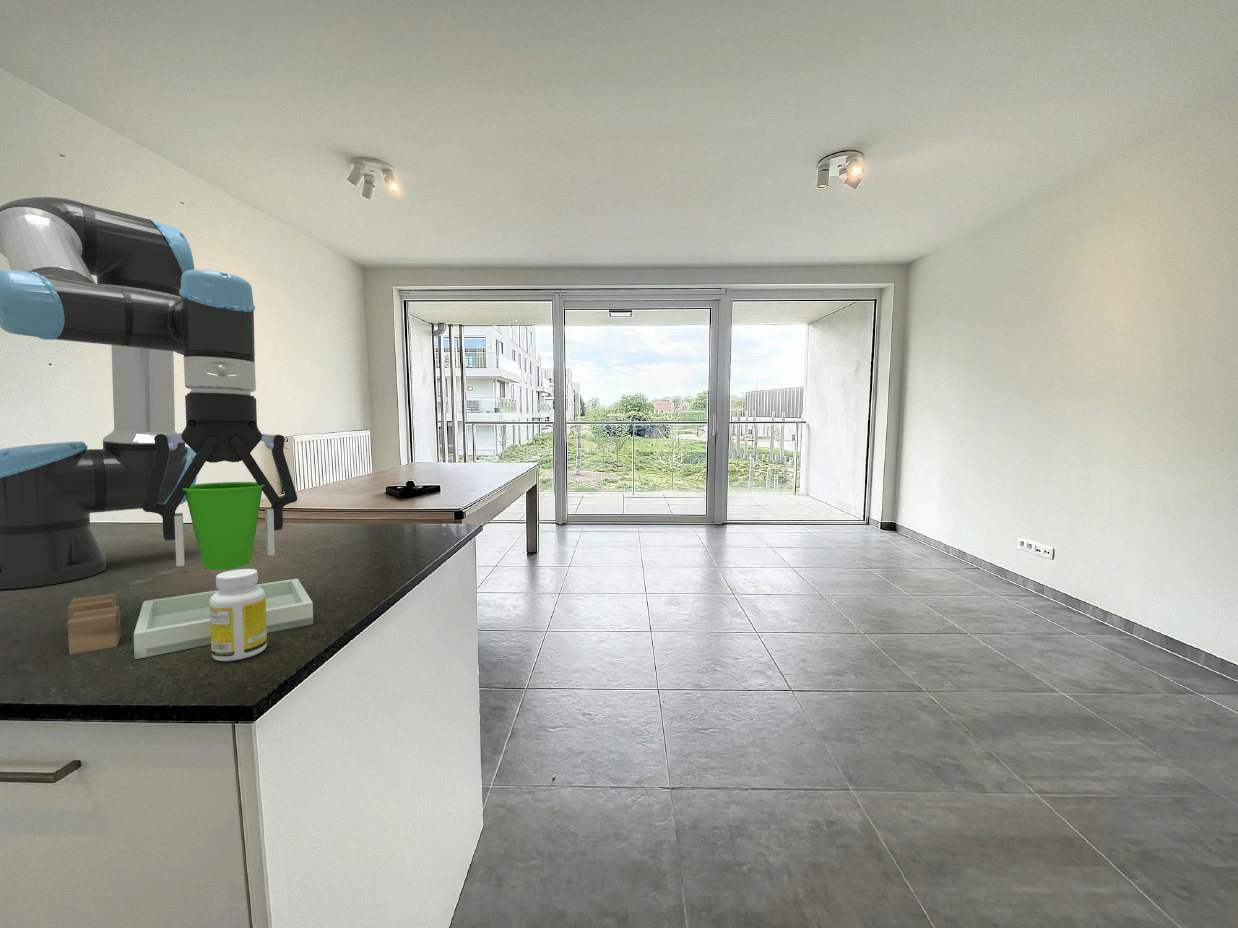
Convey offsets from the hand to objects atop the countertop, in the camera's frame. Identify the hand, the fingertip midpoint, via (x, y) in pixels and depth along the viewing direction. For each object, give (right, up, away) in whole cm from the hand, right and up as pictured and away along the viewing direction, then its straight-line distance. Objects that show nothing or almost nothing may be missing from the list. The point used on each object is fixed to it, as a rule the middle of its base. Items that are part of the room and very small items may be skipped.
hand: (227, 558), depth 69 cm
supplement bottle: (+8, -10, -8) cm, 15 cm away
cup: (0, -1, 0) cm, 1 cm away
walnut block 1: (-16, -9, -2) cm, 19 cm away
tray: (0, -9, +1) cm, 9 cm away
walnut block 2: (-11, -10, -7) cm, 16 cm away
